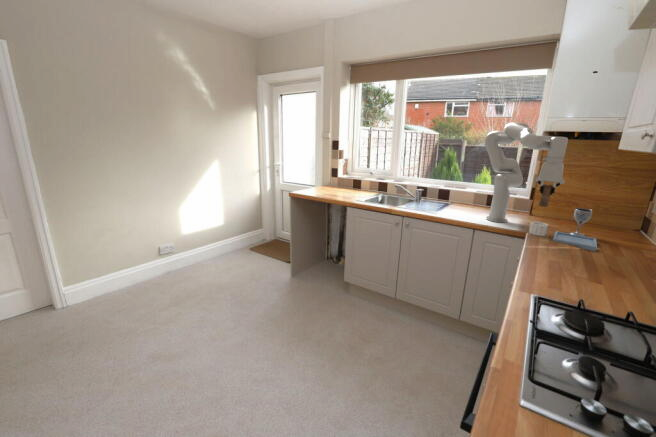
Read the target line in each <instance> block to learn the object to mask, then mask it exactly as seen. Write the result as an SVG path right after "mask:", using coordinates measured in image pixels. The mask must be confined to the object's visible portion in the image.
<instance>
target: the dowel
mask: <svg viewBox="0 0 656 437" xmlns="http://www.w3.org/2000/svg"><path fill="white" fill-rule="evenodd" d="M543 185H544V187H543V191H542V193H541V194H540V195H541V196H540V200H539V204H538V206H539V207H542V208H548V206H549V203H550V199H551V198H550V197H551V196H552V195H551V194H550V193H551V189H552V187H553V184H545V183H544V184H543Z"/></svg>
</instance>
